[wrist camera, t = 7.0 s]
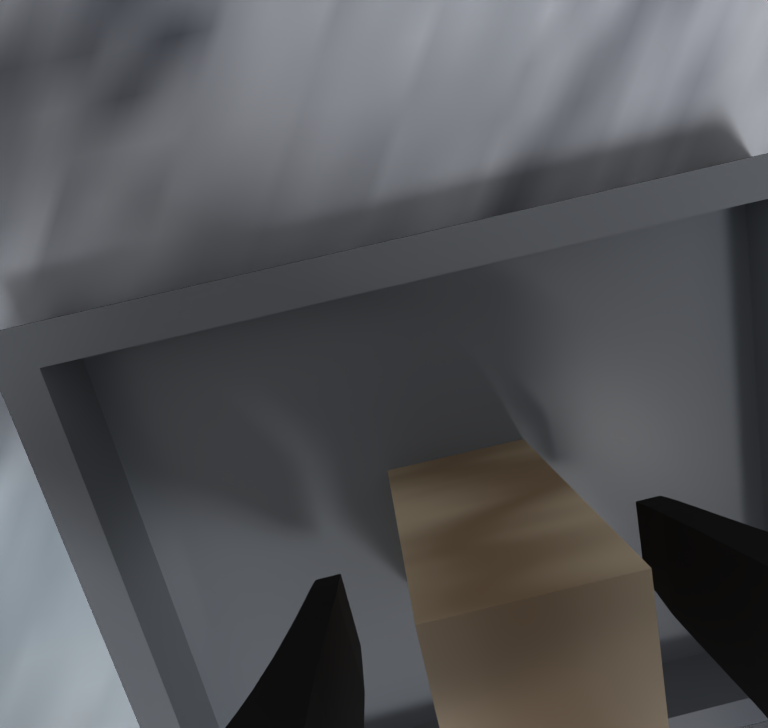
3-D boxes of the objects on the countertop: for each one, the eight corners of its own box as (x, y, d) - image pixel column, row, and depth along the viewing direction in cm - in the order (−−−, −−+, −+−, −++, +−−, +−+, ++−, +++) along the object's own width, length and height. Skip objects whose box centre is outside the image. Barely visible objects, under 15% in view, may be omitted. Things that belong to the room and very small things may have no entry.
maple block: (523, 438, 14) (651, 568, 8) (543, 559, 15) (672, 757, 9) (387, 470, 14) (414, 625, 8) (415, 590, 15) (459, 810, 9)
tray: (754, 159, 13) (845, 135, 11) (780, 635, 17) (853, 698, 14) (47, 322, 13) (-23, 335, 11) (220, 776, 16) (197, 866, 14)
